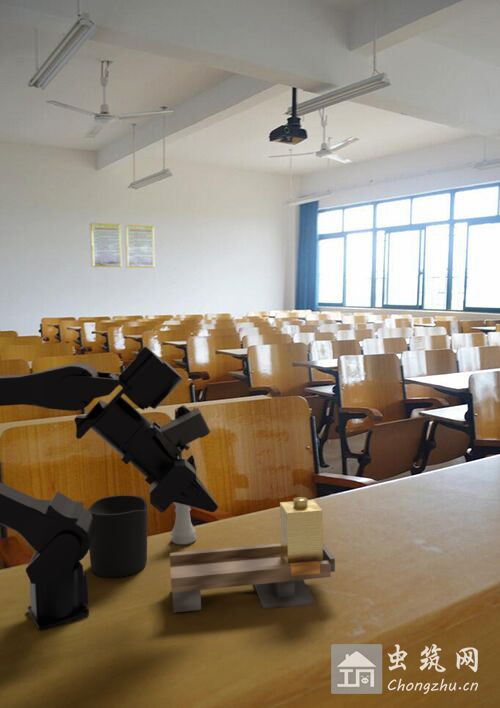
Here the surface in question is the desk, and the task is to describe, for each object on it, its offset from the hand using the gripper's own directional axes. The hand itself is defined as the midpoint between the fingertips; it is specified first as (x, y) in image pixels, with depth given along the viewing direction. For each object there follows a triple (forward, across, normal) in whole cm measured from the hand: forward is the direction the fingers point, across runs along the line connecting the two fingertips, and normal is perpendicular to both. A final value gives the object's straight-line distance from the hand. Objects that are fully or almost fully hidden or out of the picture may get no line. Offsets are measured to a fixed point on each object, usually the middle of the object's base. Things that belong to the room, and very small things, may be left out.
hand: (215, 509), depth 79 cm
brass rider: (+14, 0, -2) cm, 15 cm away
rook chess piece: (+6, +21, +12) cm, 25 cm away
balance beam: (+12, 0, +6) cm, 13 cm away
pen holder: (-1, +13, +19) cm, 23 cm away
